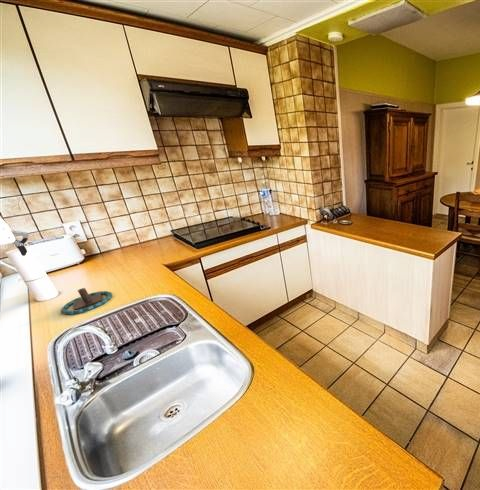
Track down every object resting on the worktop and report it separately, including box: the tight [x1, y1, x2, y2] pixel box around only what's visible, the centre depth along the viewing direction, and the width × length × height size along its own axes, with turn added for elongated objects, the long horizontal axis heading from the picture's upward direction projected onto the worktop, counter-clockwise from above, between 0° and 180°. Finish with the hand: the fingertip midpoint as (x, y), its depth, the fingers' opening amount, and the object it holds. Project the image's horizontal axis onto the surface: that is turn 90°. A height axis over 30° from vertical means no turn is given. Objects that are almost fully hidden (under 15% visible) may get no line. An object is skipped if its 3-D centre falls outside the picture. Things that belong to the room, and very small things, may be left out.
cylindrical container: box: [5, 246, 59, 302], centre depth 123 cm, size 7×7×25 cm
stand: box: [73, 287, 103, 311], centre depth 119 cm, size 9×9×8 cm
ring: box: [60, 290, 113, 316], centre depth 120 cm, size 17×17×2 cm
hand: (5, 258), depth 104 cm, fingers open, 9 cm apart
